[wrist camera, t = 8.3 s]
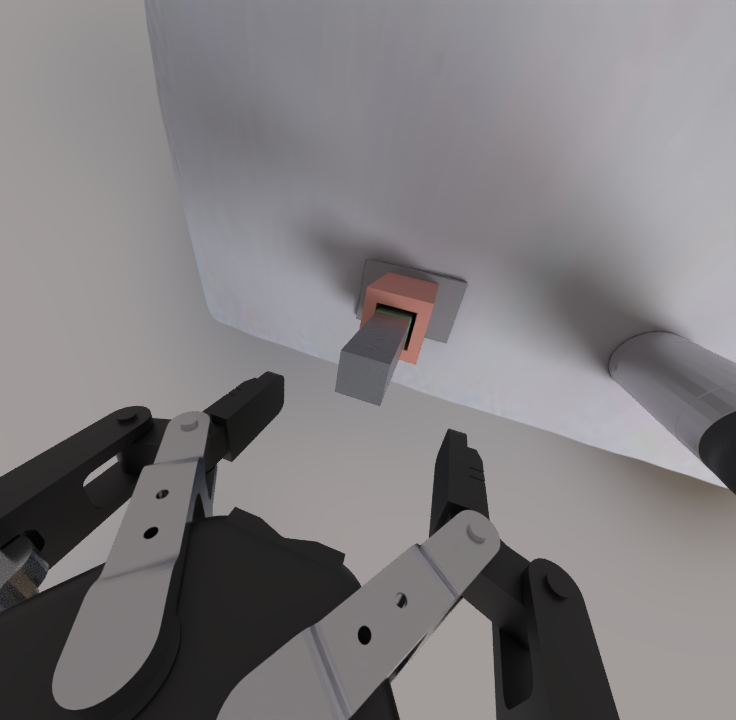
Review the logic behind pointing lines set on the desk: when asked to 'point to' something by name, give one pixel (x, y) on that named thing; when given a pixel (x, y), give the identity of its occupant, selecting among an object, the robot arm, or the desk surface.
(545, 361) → the desk surface
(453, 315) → the stand sleeve
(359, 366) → the steel column
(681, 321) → the desk surface
